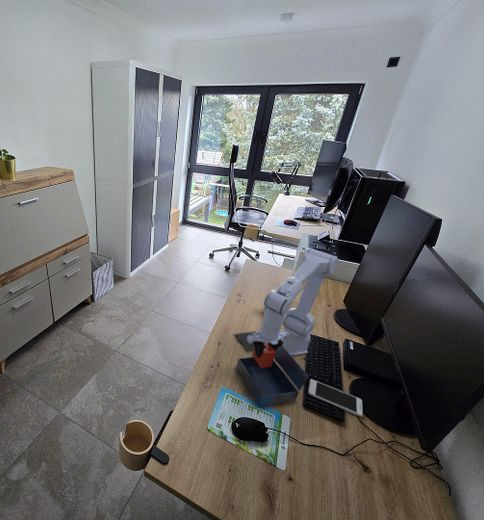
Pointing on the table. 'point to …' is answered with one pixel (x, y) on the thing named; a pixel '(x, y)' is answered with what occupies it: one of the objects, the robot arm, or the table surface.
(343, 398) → the smartphone
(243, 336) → the mat
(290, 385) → the carton
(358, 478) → the table surface
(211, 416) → the table surface
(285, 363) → the flap
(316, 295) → the robot arm
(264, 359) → the block
